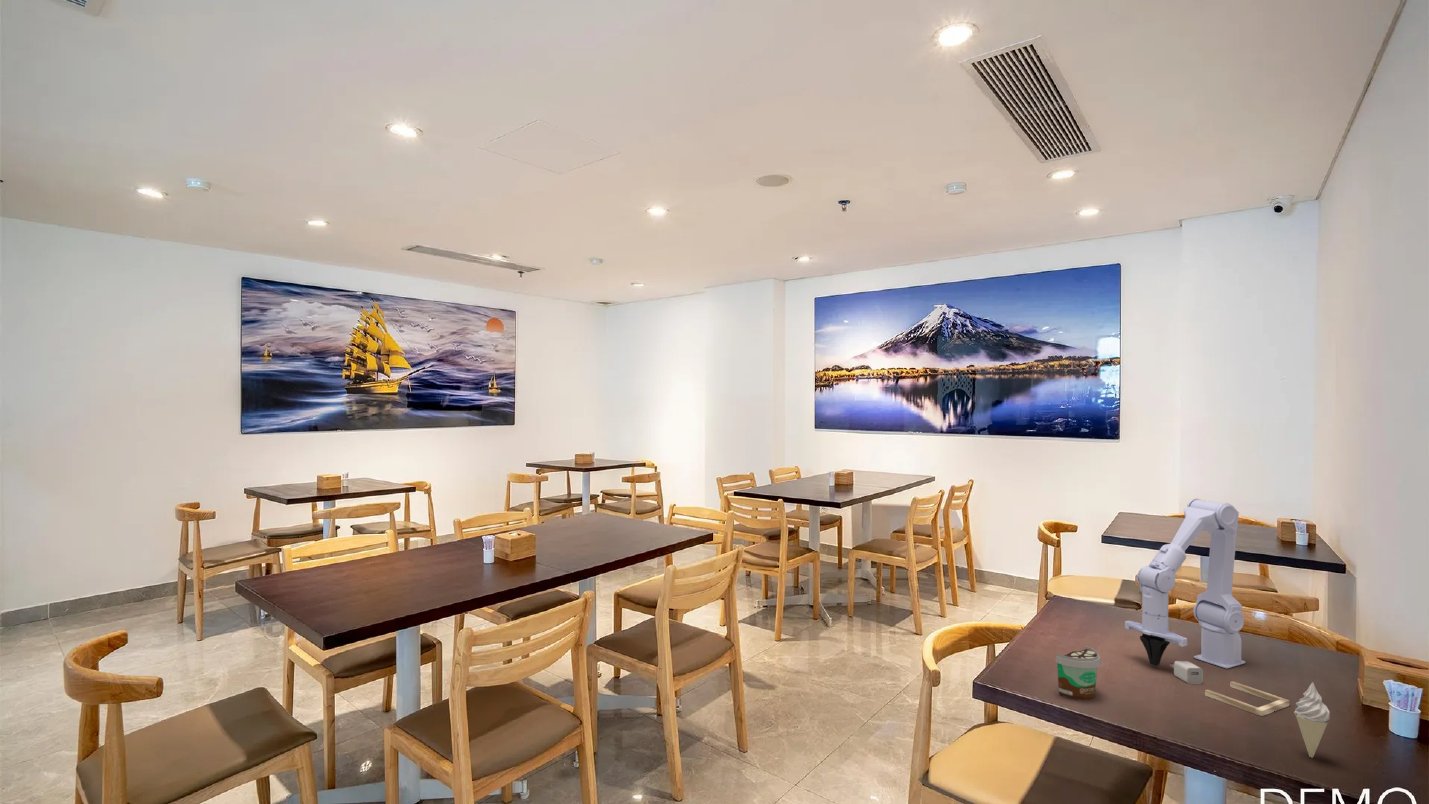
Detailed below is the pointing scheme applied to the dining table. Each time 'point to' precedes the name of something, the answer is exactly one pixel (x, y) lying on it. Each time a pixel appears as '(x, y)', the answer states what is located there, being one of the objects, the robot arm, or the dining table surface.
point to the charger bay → (1261, 711)
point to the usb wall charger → (1188, 672)
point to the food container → (1078, 673)
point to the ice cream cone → (1312, 718)
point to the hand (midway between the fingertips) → (1154, 664)
